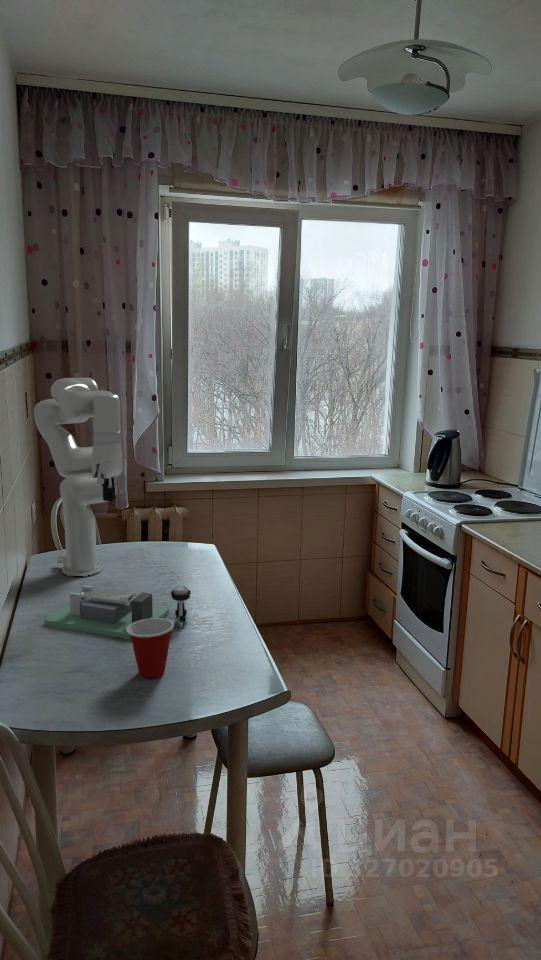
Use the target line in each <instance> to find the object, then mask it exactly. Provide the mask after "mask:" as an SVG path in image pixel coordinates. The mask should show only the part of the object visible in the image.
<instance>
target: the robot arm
mask: <svg viewBox="0 0 541 960" xmlns="http://www.w3.org/2000/svg"><path fill="white" fill-rule="evenodd" d="M50 395H51V397H52V398H48V399H43V400H40V401H39V402H37V403H36V405H35V406H34V411H33V416H34V421H35V425H36V427H37V430H38V432H39V434H40V435H41V436H42V438H43V440H44V441H45V442H46V444H47V445H48V447H49V451H50V454H51V456H52V460H53V463H54V466H55V467H56V471H57V472H58V474H59V475H60V476H61V477H63V478H64V479H62V481H61V482H60V486H59V494H60V498H61V503H62V509H63V514H64V515H63V516H64V537H65V538H64V539H65V540H64V541H65V554H59V555H58V556H57V560H56V563H59V564H63V566H62V567H61V572H63V573H64V574H63V573H62V574H63V575H65V574H66V575H65V576H67V577H68V576H69V577H73V576H83V577H89V576H88V575H90V576H93V574H94V575H96V573H97V574H98V572H99V573H100V572H101V571H102V570H103V565H102V564H101V563H99V562H98V560H97V559H98V556H97V536H96V535H97V533H96V532H97V530H96V517H95V515H94V513H93V512H92V511H91V509H89V507H88V505H93V504H101V503H107V502H114V501H115V500H116V499H117V497H116V496H117V480H118V479H119V478H120V477H121V474H122V473H123V471H124V470H123V469H124V468H123V465H124V464H123V463H124V462H123V451H122V450H123V449H122V444H121V443H122V434H121V433H122V432H121V427H122V426H121V401H120V397H119V395H117V394H116V393H112V392H111V391H109V390H99V386H98V384H97V382H96V381H95V380H94V379H93V378H91V377H65V378H64V377H63V378H59V379H57V380H55V381H54V383H52V385H51V387H50ZM90 418H92V426H93V427H92V429H93V444H92V446H85V447H84V446H83V447H80V446H78V445H77V442H76V439H75V437H74V436H73V435H72V434H71V433H70V432H69V431H68V430H67V429H65V428H64V427H62V426H61V425H66V424H68V425H69V424H81V423H84V422H87V421H88V420H89V419H90ZM101 569H102V570H101Z"/></svg>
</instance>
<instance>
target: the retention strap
mask: <svg viewBox="0 0 541 960" xmlns="http://www.w3.org/2000/svg"><path fill="white" fill-rule="evenodd" d="M101 592H102V591H93V592H92V591H87V590H85V591H83V592H82V591H81V592H80V593H81V597H82V600H88V601H96V602H105V603H113V604H122V605H131V600H133V599H134V598H135V597H137V596H138V595H137V591H127V592H126V593H124V594H118V593H113V594H110V593H111V592H106V593H101Z"/></svg>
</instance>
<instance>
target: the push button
mask: <svg viewBox="0 0 541 960" xmlns="http://www.w3.org/2000/svg"><path fill="white" fill-rule="evenodd" d="M170 595H171V599H172V600H173V601H176V602H177V603H176V604H177V606H176V609H175V612H174V613H175V614H174V615H175V624H177V627H178V628H180V629H181V628H183V627H185V624H187V623H188V621H187V618H188V617H187V612H188V611H187V609H186V608H185V601H187V600H189V599H190V598H191V590H190V589H188V587H187V586H184V585H180V586H176V587H174V588H173V589H172V590H171V591H170Z"/></svg>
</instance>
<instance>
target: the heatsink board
mask: <svg viewBox="0 0 541 960" xmlns="http://www.w3.org/2000/svg"><path fill="white" fill-rule="evenodd" d="M85 590H87V591H92V592H94V586H93V585H88V584H87V585H86V584H83V585H81V592H73V591H71V592H70V593H69V603H68V604H66V605H65V606H63V607H62V608H60V609H59V610H57V611H55V612H54V613H52V614H51V615H50V616H47V617H46V618H44V620H43V622H44V624H43V625H44V626H49V627H54V628H61V629H66V630H72V631H77V632H84V633H89V634H90V633H91V634H96V635H101V636H107V637H114V638H120V639H125V640H130V641H131V638H130V636H129V634H128V633H127V630H126V628H127V627H128V626H129V625H130V624H132V623H134V622H136V621H140V620H143V619H150V618H162V619H166V617H168V616H169V615H170V609H169V608H165V607H164V608H163V607H158V606H157V607H156V606H153V594H152V593H149V592H141V593H140V594H137V595H136V596H137V597H135V598H134V599H133V600H131V605H122V604H113V603H105V602H96V601H88V600H82V597H81V593H82V592H83V591H85ZM100 592H101V593H107V591H106V592H104V591H100ZM109 593H110V594H114V593H112V592H109Z"/></svg>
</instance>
